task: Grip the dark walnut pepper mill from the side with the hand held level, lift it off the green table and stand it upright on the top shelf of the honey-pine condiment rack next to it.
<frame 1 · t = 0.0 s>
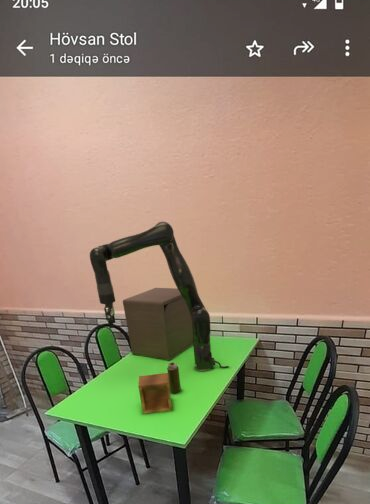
hand: (112, 325, 170), 29 cm above the table, tool pointing down, fingers open, 8 cm apart
storage cube: (165, 348, 219), on the table
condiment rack: (157, 406, 154), on the table
pepper mill: (175, 391, 165), on the table
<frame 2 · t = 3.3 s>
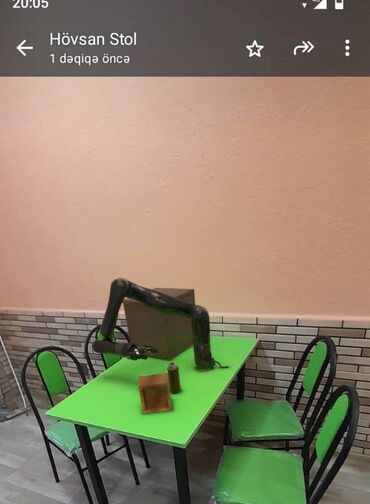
hand: (152, 354, 161), 18 cm above the table, tool horizontal, fingers open, 8 cm apart
nothing on the table moved.
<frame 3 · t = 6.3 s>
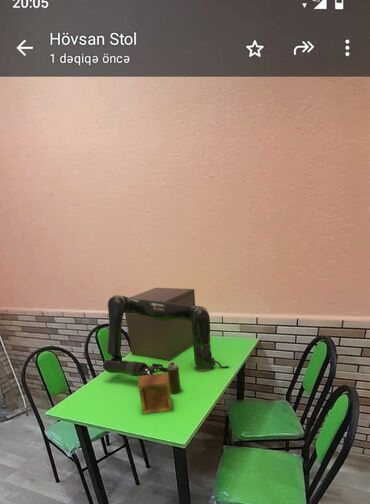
hand: (162, 373, 164), 8 cm above the table, tool horizontal, fingers open, 8 cm apart
nothing on the table moved.
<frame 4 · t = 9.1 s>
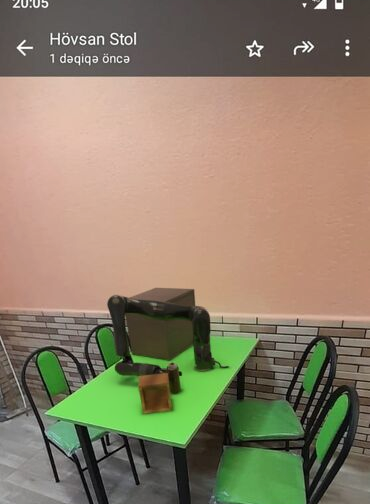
hand: (178, 376, 160), 9 cm above the table, tool horizontal, fingers closed on pepper mill, 5 cm apart
pepper mill: (175, 391, 165), on the table, touching gripper
everything else where it was.
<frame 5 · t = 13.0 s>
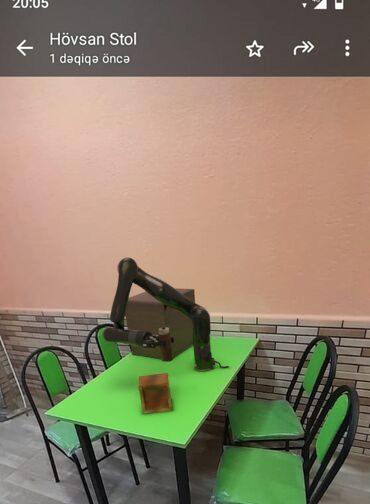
hand: (170, 342, 148), 27 cm above the table, tool horizontal, fingers closed on pepper mill, 5 cm apart
pepper mill: (167, 359, 154), point 18 cm above the table, touching gripper
everything else where it was.
when the fingers open (23 cm above the table, at t = 17.1 s): pepper mill stays where it is, resting on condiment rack.
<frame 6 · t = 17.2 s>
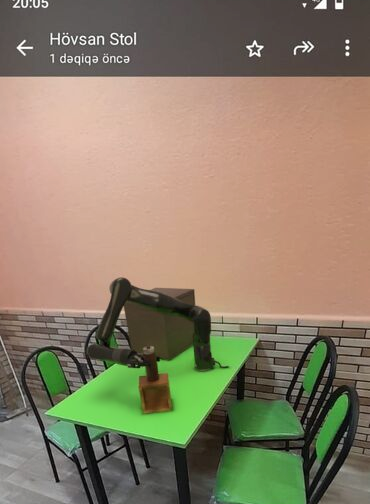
hand: (155, 361, 141), 23 cm above the table, tool horizontal, fingers open, 5 cm apart
pepper mill: (153, 379, 147), point 14 cm above the table, touching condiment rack
everything else where it was.
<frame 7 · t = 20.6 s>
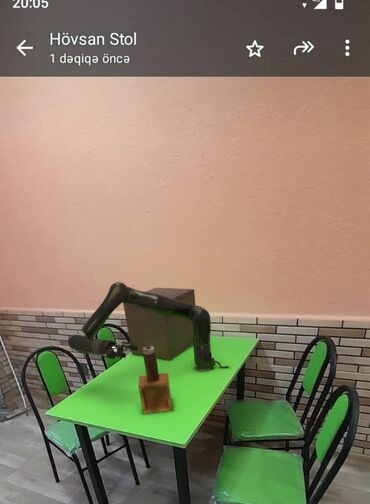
hand: (131, 351, 147), 25 cm above the table, tool horizontal, fingers open, 8 cm apart
nothing on the table moved.
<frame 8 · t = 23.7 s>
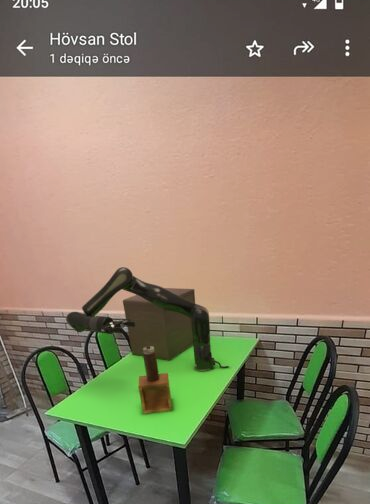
hand: (128, 327, 148), 34 cm above the table, tool horizontal, fingers open, 8 cm apart
nothing on the table moved.
at the end: pepper mill inside the target area on the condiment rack (0.1 cm from its centre), point 14.0 cm above the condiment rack's base; pepper mill tilted 0°; the gripper is holding nothing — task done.
